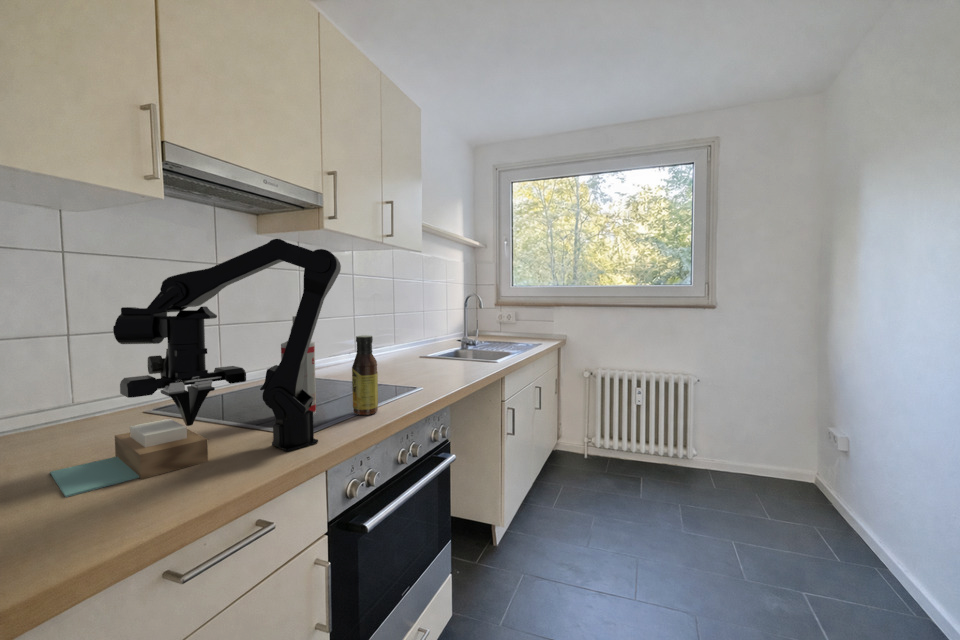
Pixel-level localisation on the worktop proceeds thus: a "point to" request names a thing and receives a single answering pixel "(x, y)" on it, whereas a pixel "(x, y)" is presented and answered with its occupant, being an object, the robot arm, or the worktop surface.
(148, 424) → the white block
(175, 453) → the brown box
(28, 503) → the worktop surface
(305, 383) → the spray bottle
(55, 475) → the mat
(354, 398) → the sauce bottle
